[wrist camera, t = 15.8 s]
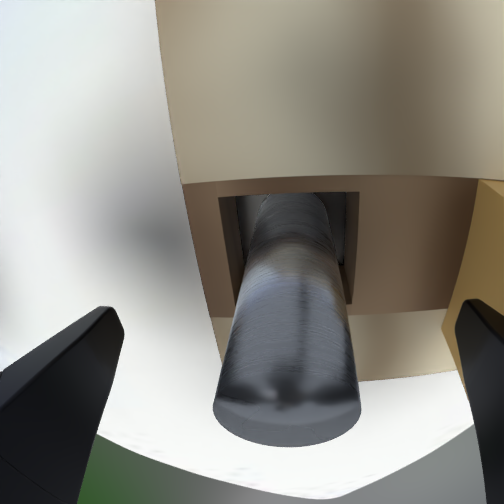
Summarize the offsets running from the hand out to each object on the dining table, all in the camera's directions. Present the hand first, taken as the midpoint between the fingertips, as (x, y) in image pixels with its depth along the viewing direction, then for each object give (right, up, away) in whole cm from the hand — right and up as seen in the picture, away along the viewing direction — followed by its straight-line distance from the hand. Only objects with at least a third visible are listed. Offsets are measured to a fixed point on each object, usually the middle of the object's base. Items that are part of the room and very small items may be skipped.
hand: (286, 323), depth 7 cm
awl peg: (+1, +3, +4) cm, 5 cm away
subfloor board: (+4, +6, +2) cm, 8 cm away
